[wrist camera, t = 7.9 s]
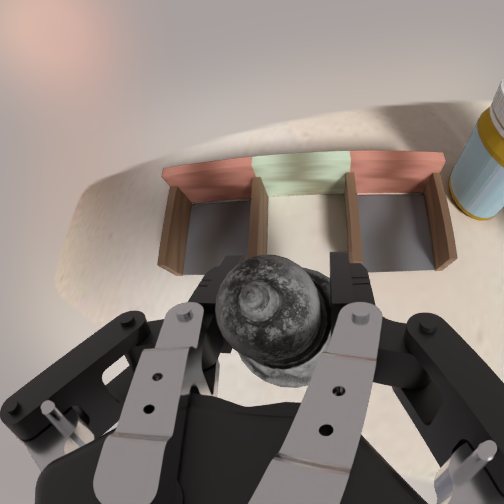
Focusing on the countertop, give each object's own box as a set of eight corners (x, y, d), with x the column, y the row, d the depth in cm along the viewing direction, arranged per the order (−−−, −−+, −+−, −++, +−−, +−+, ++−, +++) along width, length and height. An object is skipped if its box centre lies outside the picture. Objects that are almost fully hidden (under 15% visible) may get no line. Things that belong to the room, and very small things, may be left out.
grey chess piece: (252, 383, 17) (133, 424, 6) (247, 288, 19) (139, 196, 8) (352, 374, 16) (404, 420, 5) (342, 277, 18) (364, 156, 7)
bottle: (489, 234, 24) (564, 157, 11) (439, 200, 27) (492, 103, 13) (501, 188, 25) (560, 107, 12) (455, 157, 28) (497, 62, 14)
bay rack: (427, 184, 28) (442, 152, 22) (442, 270, 25) (466, 250, 19) (186, 195, 34) (163, 168, 29) (176, 275, 31) (146, 258, 26)
